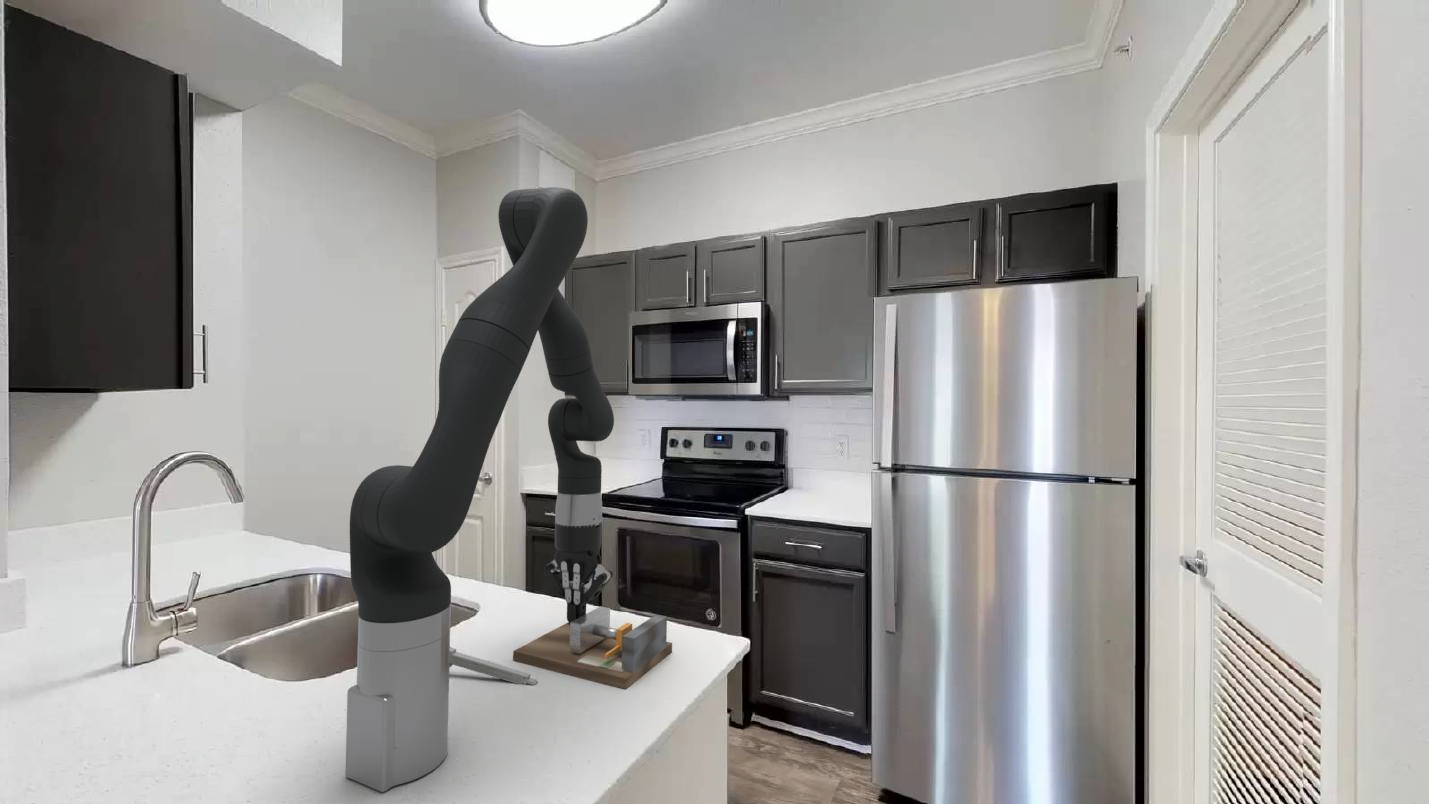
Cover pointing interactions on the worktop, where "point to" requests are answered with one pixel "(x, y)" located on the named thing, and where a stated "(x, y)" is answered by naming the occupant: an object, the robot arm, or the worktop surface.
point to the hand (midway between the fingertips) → (576, 624)
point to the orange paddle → (619, 638)
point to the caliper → (490, 668)
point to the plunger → (591, 629)
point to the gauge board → (601, 654)
